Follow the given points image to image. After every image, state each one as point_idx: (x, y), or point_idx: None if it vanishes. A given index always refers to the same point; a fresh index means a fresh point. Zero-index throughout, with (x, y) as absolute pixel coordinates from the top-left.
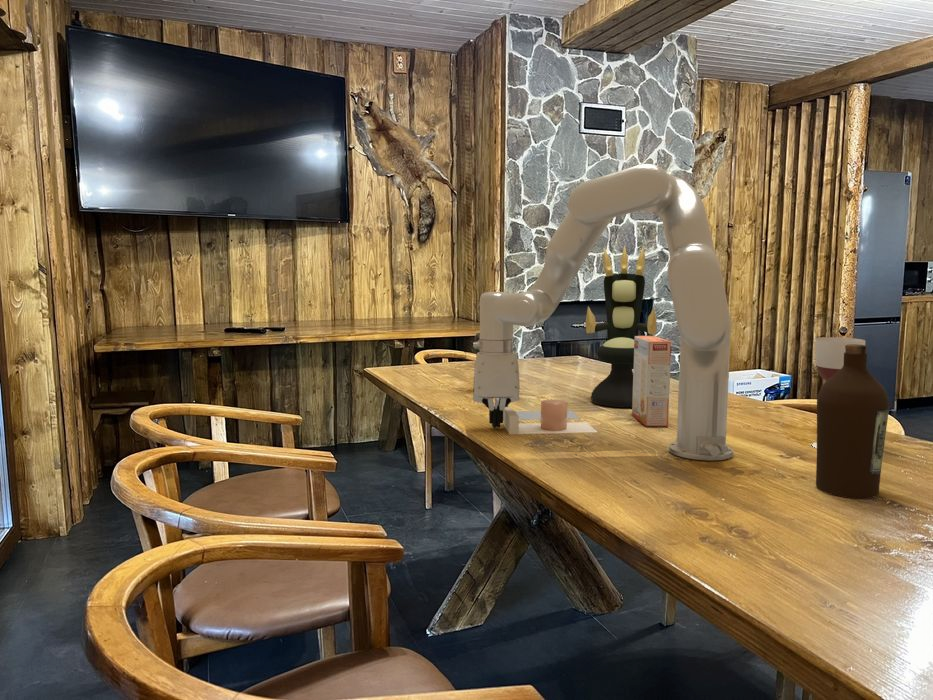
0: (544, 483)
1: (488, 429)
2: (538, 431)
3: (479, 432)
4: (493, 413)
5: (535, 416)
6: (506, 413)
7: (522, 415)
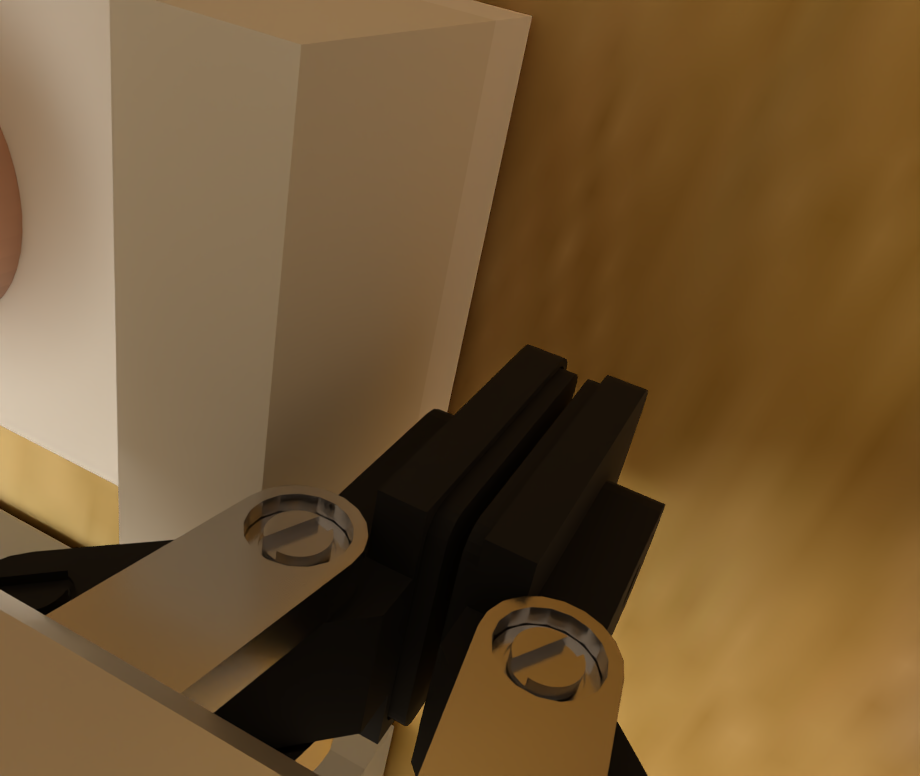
0: None
1: None
2: (64, 38)
3: (761, 638)
4: (555, 545)
5: None
6: None
7: None
